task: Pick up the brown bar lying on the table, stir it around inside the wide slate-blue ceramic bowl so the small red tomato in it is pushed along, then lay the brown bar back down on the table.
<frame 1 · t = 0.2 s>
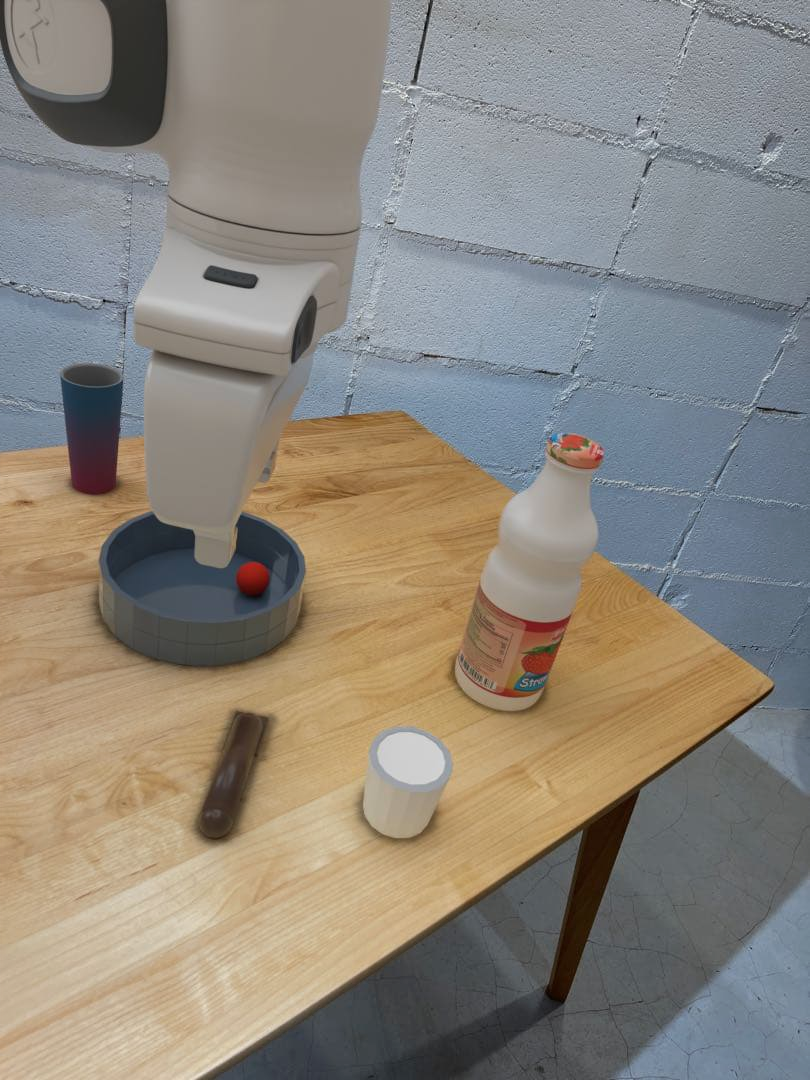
hand: (238, 514, 46), 30 cm above the table, tool pointing down, fingers open, 8 cm apart
brown bar: (231, 781, 68), on the table
shot glass: (395, 815, 69), on the table
bowl: (202, 604, 86), on the table
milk: (195, 472, 109), on the table
fruit juice: (496, 684, 85), on the table
tomato: (253, 578, 88), point 2 cm above the table, touching bowl
cup: (94, 488, 101), on the table
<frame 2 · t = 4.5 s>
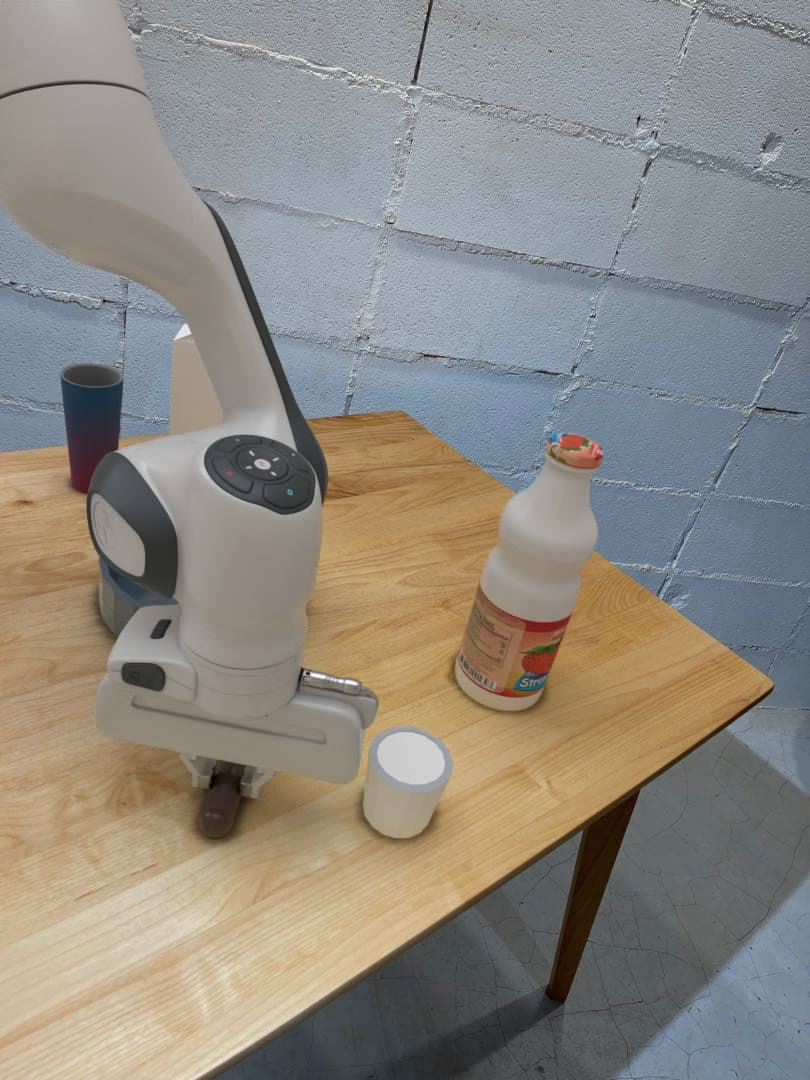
hand: (226, 786, 66), 2 cm above the table, tool pointing down, fingers closed on brown bar, 2 cm apart
brown bar: (231, 781, 68), on the table, touching gripper
everything else where it was.
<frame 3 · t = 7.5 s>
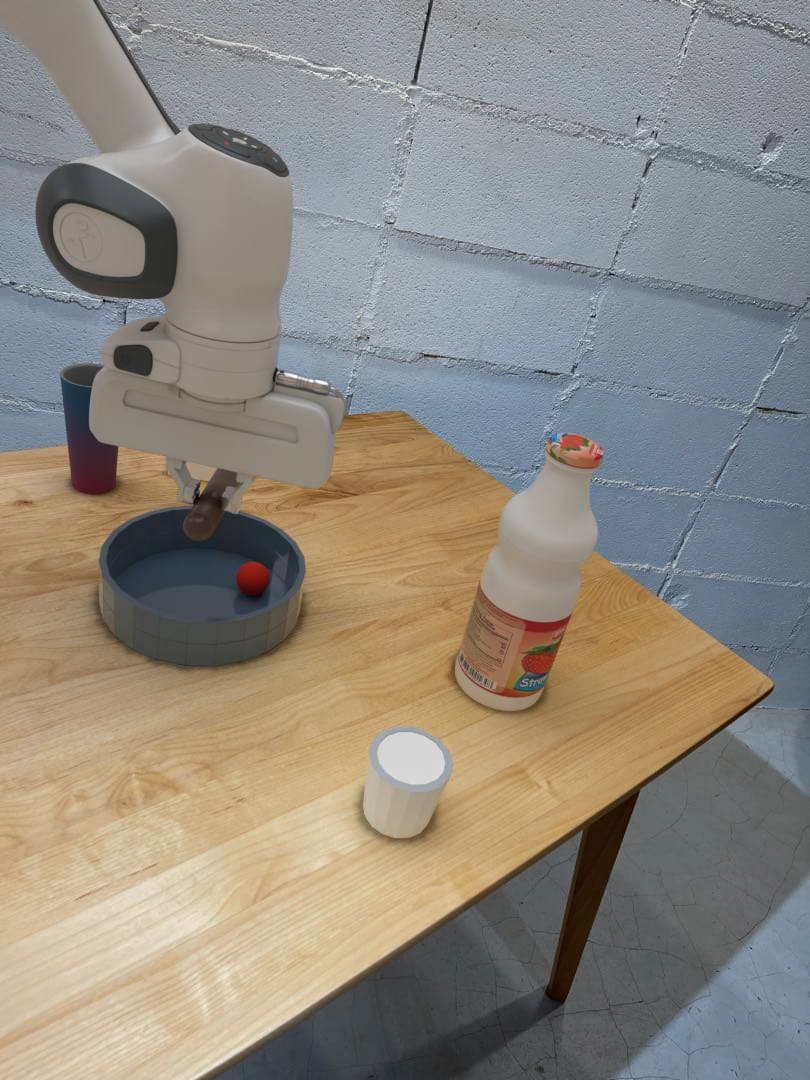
hand: (209, 504, 72), 17 cm above the table, tool pointing down, fingers closed on brown bar, 2 cm apart
brown bar: (214, 510, 74), point 15 cm above the table, touching gripper
everything else where it was.
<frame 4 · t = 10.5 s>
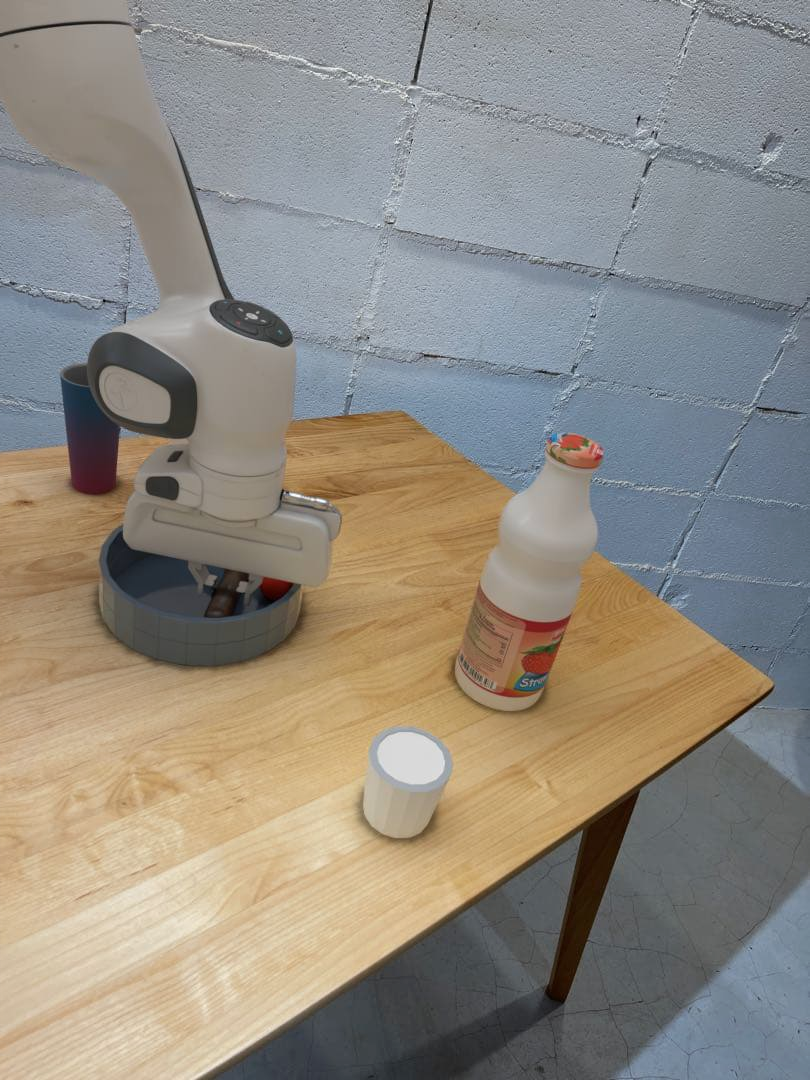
hand: (224, 597, 83), 3 cm above the table, tool pointing down, fingers closed on brown bar, 2 cm apart
brown bar: (229, 598, 86), point 1 cm above the table, touching gripper
tomato: (276, 583, 88), point 2 cm above the table, tilted 81°, touching bowl
everything else where it was.
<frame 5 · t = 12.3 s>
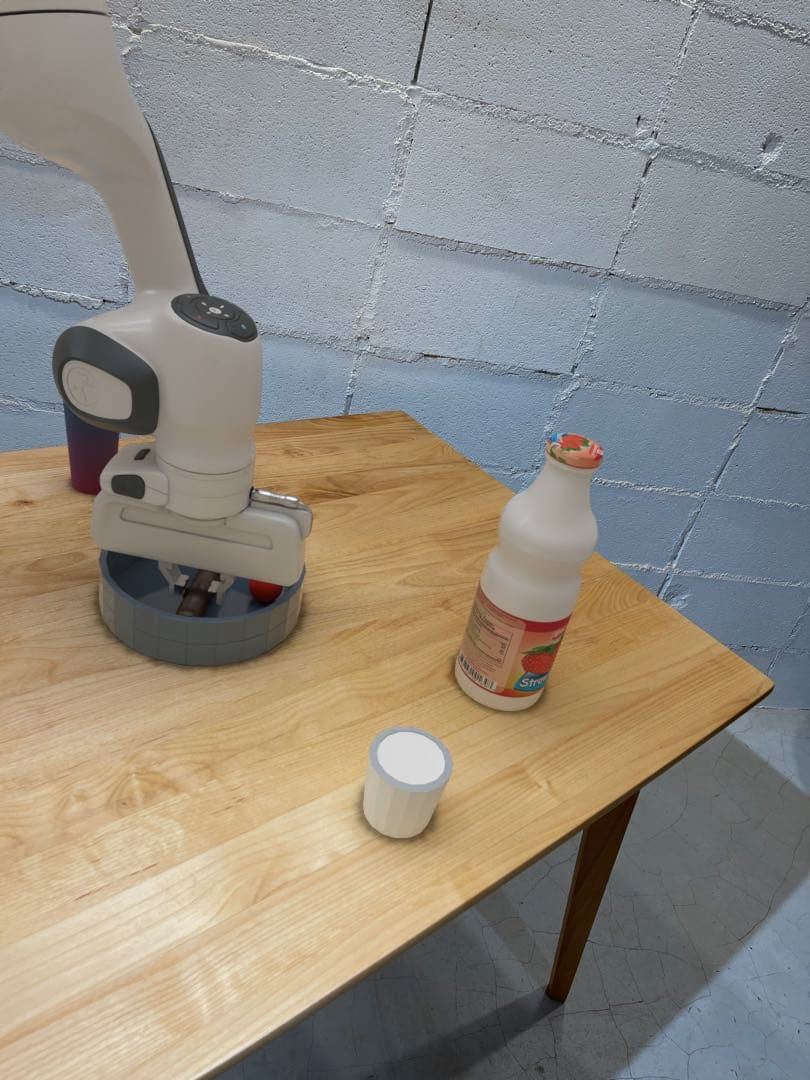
hand: (197, 597, 82), 3 cm above the table, tool pointing down, fingers closed on brown bar, 2 cm apart
brown bar: (202, 598, 85), point 2 cm above the table, touching gripper
tomato: (266, 585, 87), point 2 cm above the table, tilted 52°, touching bowl
everything else where it was.
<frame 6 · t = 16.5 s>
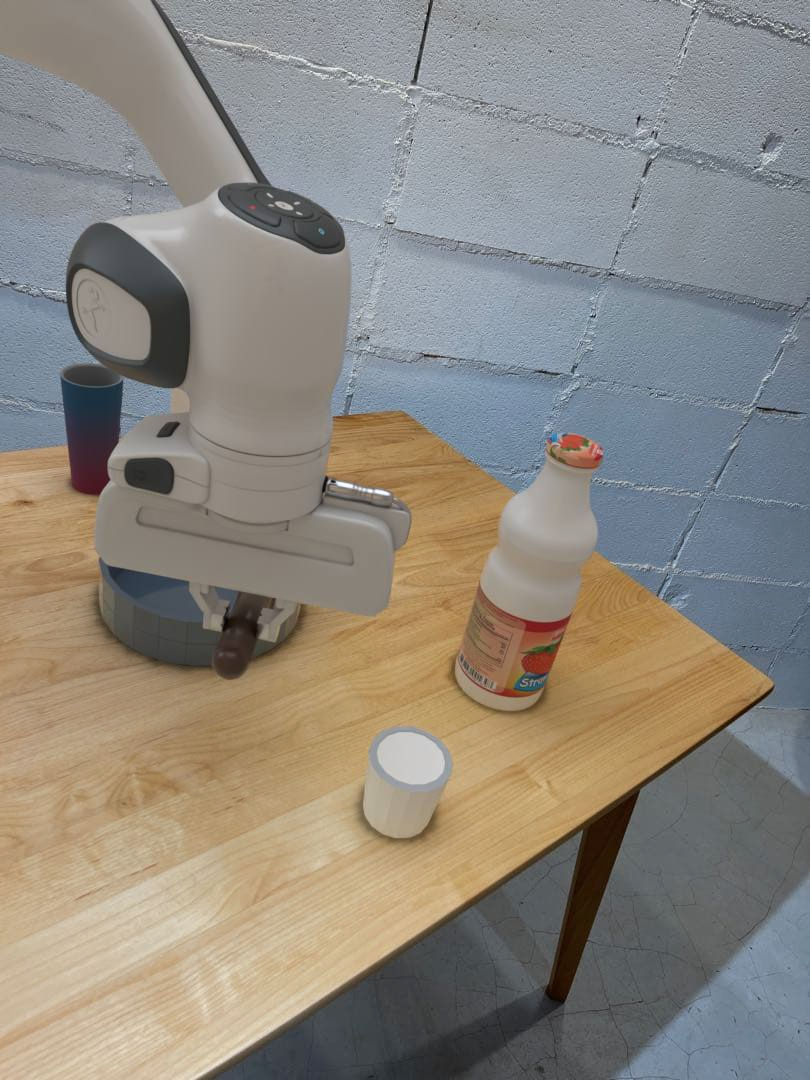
hand: (241, 630, 59), 16 cm above the table, tool pointing down, fingers closed on brown bar, 2 cm apart
brown bar: (246, 630, 62), point 15 cm above the table, touching gripper
tomato: (260, 586, 87), point 2 cm above the table, tilted 41°, touching bowl
everything else where it was.
when the fingers open (2 cm above the table, at t = 20.0 s): brown bar stays where it is, on the table.
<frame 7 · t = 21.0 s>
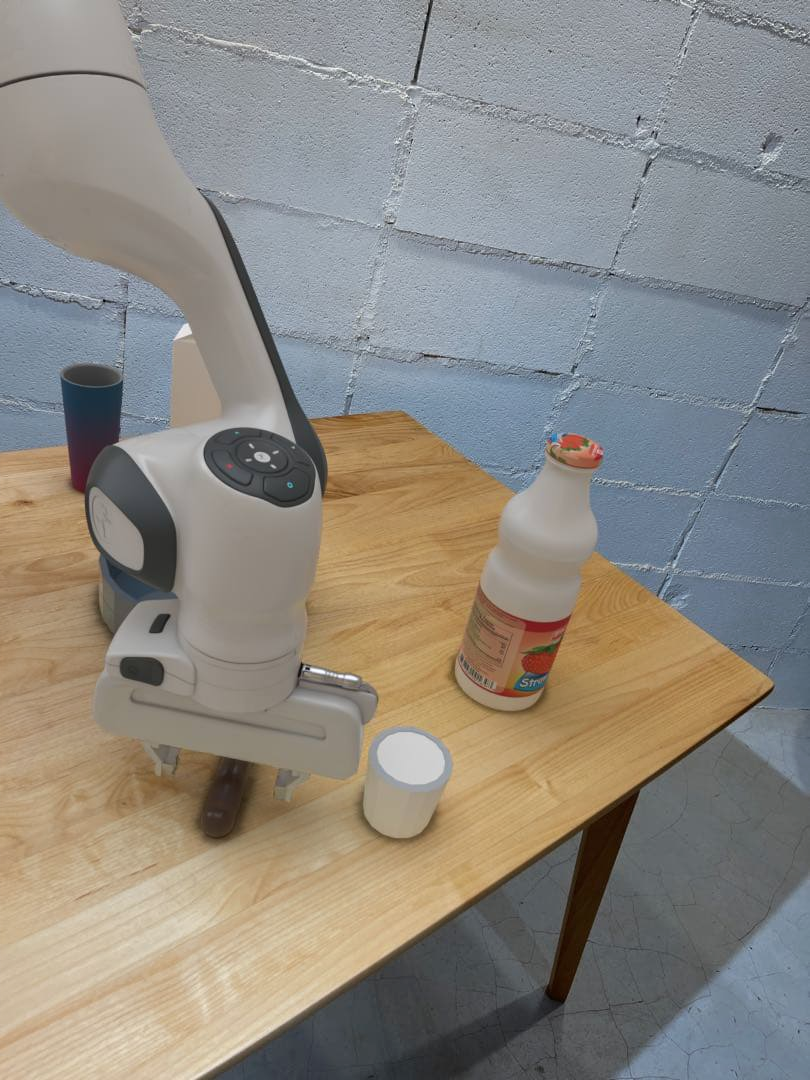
hand: (225, 782, 65), 2 cm above the table, tool pointing down, fingers open, 8 cm apart
brown bar: (233, 780, 68), on the table
tomato: (238, 585, 86), point 2 cm above the table, tilted 47°, touching bowl
everything else where it was.
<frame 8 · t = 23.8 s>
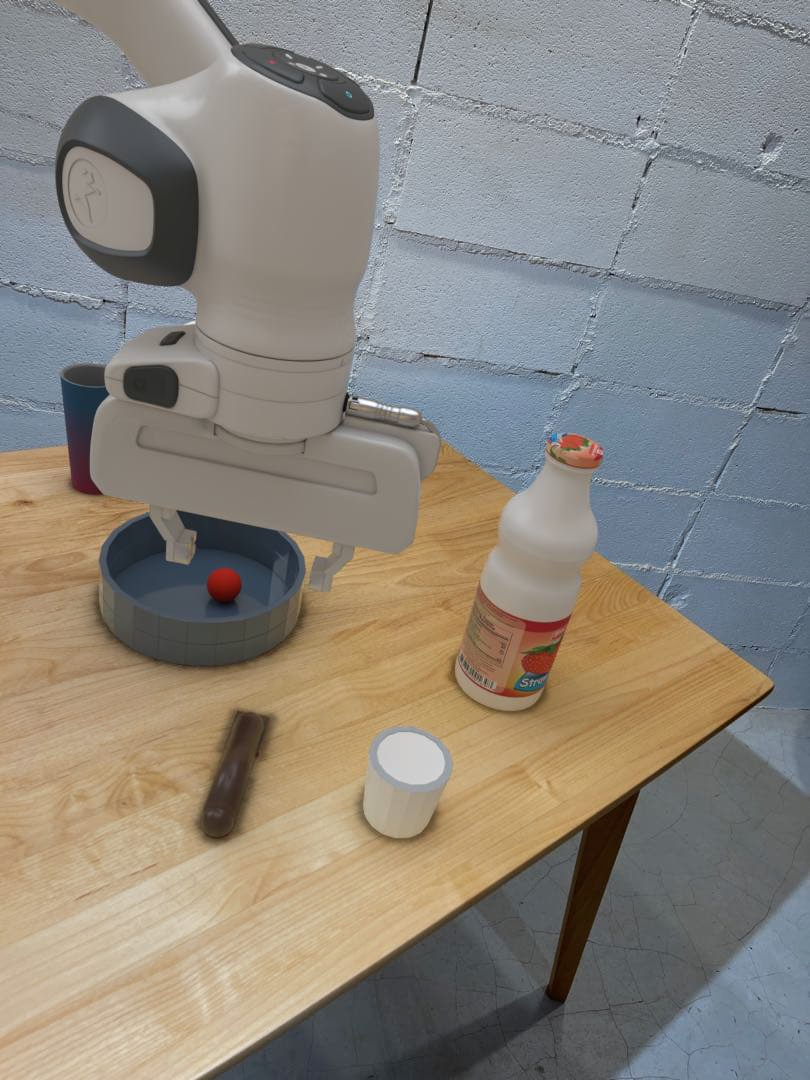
hand: (250, 572, 54), 23 cm above the table, tool pointing down, fingers open, 8 cm apart
tomato: (224, 585, 86), point 2 cm above the table, tilted 88°, touching bowl
everything else where it was.
at the end: tomato moved 3.4 cm from its start; tomato inside the target area in the bowl (2.1 cm from its centre), point 2.4 cm above the bowl's base; brown bar inside the target area (0.1 cm from its centre), on the table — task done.
